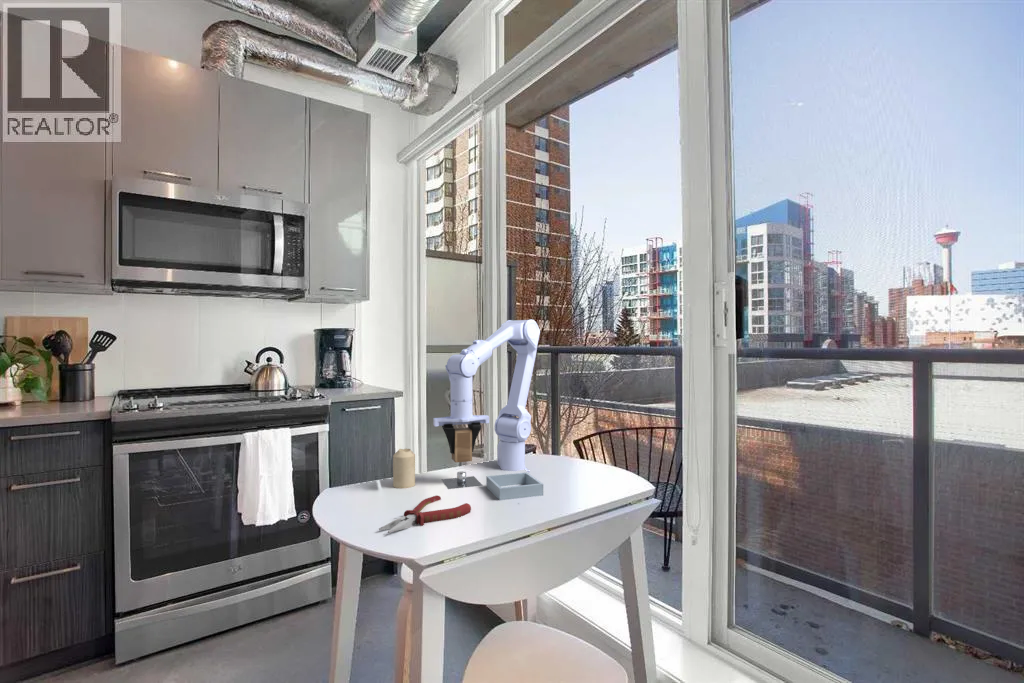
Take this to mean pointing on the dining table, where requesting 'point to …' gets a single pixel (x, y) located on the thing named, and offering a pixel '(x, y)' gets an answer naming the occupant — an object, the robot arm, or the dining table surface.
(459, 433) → the brown block
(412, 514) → the pliers
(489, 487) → the bin
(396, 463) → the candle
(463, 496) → the dining table surface
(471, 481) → the base
